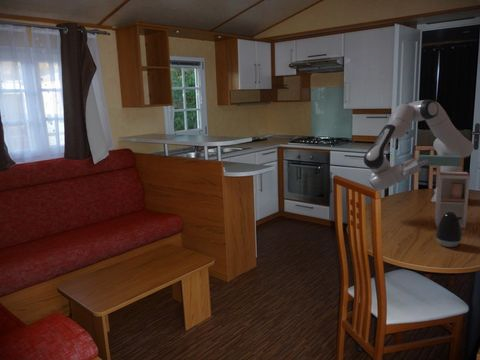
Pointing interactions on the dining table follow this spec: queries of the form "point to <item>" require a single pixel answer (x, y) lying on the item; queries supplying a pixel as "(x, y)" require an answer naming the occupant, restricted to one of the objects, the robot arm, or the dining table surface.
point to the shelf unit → (444, 196)
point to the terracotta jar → (456, 190)
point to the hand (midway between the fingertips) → (427, 159)
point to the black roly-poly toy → (449, 230)
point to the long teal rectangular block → (441, 160)
